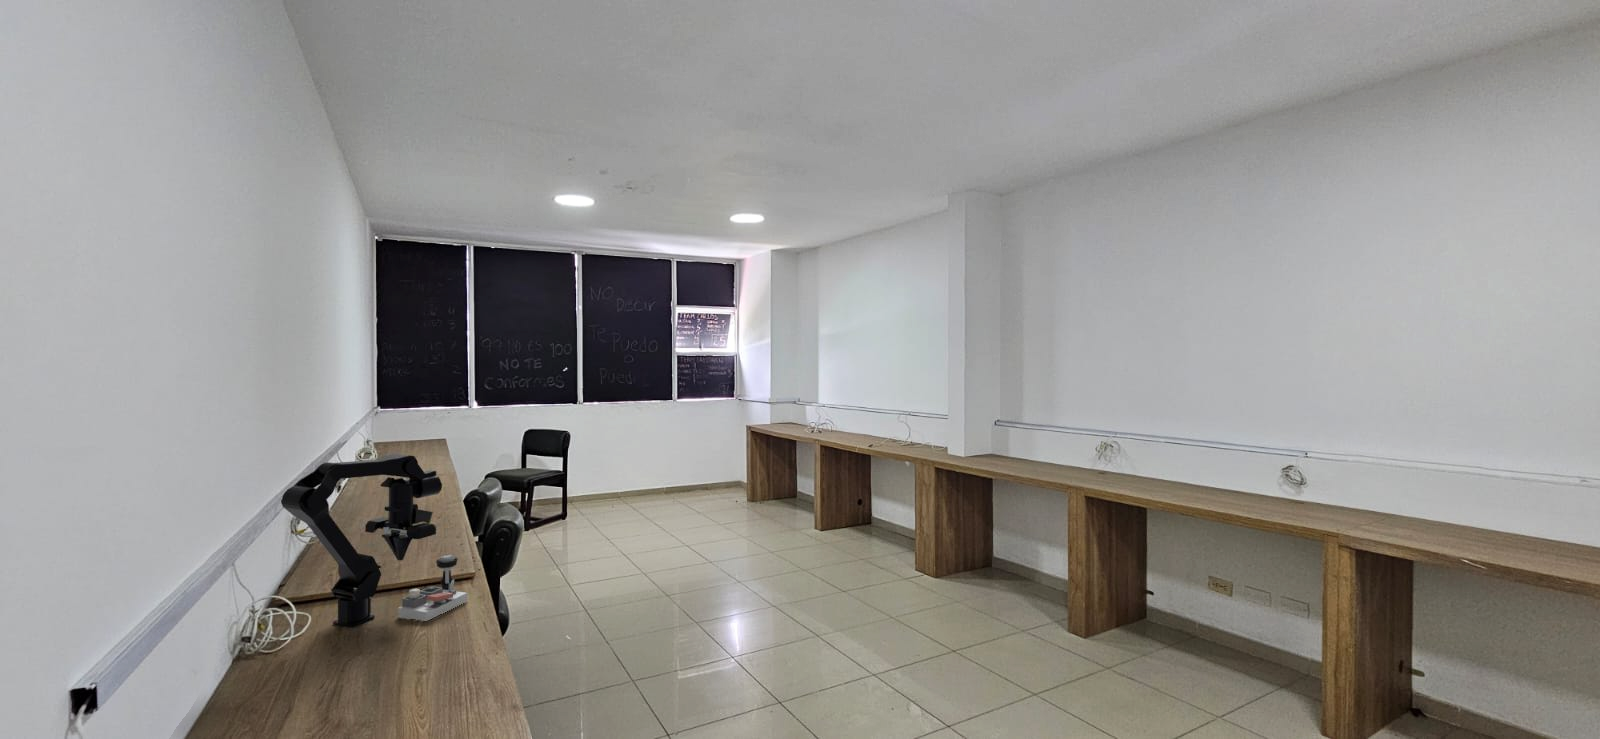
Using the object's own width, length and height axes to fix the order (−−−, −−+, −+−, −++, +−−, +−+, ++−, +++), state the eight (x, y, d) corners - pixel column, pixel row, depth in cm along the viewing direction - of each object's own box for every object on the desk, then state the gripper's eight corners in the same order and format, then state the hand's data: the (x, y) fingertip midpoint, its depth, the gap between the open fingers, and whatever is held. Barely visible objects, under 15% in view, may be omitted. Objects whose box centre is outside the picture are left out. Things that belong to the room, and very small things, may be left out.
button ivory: (414, 600, 175) (414, 592, 175) (406, 599, 176) (406, 591, 176) (421, 597, 177) (421, 589, 177) (414, 595, 178) (414, 588, 178)
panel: (427, 622, 172) (427, 598, 172) (398, 617, 174) (398, 594, 174) (468, 602, 186) (468, 580, 185) (440, 598, 188) (440, 576, 188)
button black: (431, 597, 180) (431, 590, 180) (423, 596, 181) (423, 589, 181) (438, 594, 183) (438, 586, 183) (430, 593, 183) (430, 585, 183)
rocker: (435, 601, 175) (436, 596, 175) (426, 599, 176) (427, 595, 176) (452, 597, 181) (453, 593, 181) (443, 596, 181) (444, 591, 182)
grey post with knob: (435, 588, 195) (435, 553, 195) (456, 585, 198) (456, 551, 197) (436, 596, 189) (436, 560, 189) (458, 593, 192) (458, 557, 191)
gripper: (453, 499, 187) (452, 556, 188) (400, 492, 193) (400, 548, 194) (418, 507, 177) (417, 568, 177) (364, 500, 183) (363, 559, 183)
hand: (400, 560), depth 183 cm, fingers closed
